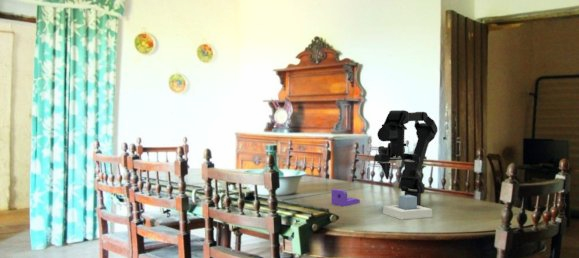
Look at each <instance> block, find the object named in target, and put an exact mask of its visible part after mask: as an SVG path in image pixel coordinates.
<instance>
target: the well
mask: <svg viewBox="0 0 579 258" xmlns="http://www.w3.org/2000/svg"><path fill="white" fill-rule="evenodd" d="M382 210H383V211H382V213H383V214H384V215H387V216H390V217H392V218H396V219H399V220H401V221H403V220H404V221H405V220H414V219H415V220H416V219H423V218H425V219H426V218H433V209H432V208H429V207H425V206H423V207H422V206H418V205H417V209H412V210H404V209H400V208H398V204H392V205H383V209H382Z"/></svg>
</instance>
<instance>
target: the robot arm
mask: <svg viewBox="0 0 579 258" xmlns="http://www.w3.org/2000/svg"><path fill="white" fill-rule="evenodd" d="M409 122H414V125H413V126H414V129H415V131H416V132H415V134H416V137H417V141H416V145H415V147H414V150H413V153H405V147H407V143H405V132H406V130H408V128H407V126H406V124H408V123H409ZM437 133H438V126H437V124H436V121H435V120H434V119H433V118H431V117H430V116H429V115H428V113H427V112H425V111H416V112H409V111H407V110H404V109H402V110H390V111H389V112H388V114H387V116H386V118H385V120H384V123H383V124H381V127H380V128H378V131H377V137H378V140H379V141H381V142H388V143H387V147H385V146H382V145H380V146H378V148H377V149H378V153H377V154H374V157H373V160H374V162H376V163H377V164H379V165H380V166H381V168H382V170H383V174H384V176H385V177H384V178H385V179H386V180H389V177H390V172H391V171H390V170H391V164H392V163H391V162H390V161H402V160H403V161H402V162H403V164H404V169H403V170H402V172H401V176H400V179H399V185H400V191H401V192H404V195H412V196H416V197H417V205H418V206H422V207H424V205H422V204H421V201H422V200H421V198H422V194H424V193H425V191H426V190H425V189H426V187H425V186H424V184H423V182H422V181H423V179H422V174H421V169H422V166H423V163H424V160H425V156H426V154H427V150H428V147H429V145H430V143H431V142H432V141H433V140H434V139H435V137H436V135H437Z"/></svg>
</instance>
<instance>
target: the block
mask: <svg viewBox="0 0 579 258" xmlns="http://www.w3.org/2000/svg"><path fill="white" fill-rule="evenodd" d="M397 199H398V202H397V205H398V208H400V209H404V210H412V209H417V197H416V196H412V195H405V194H401V195H398V198H397Z"/></svg>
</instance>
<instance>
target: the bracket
mask: <svg viewBox="0 0 579 258" xmlns="http://www.w3.org/2000/svg"><path fill="white" fill-rule="evenodd" d="M360 203H361V200H360V199H359V198H353V197H348V192H347V191H346V190H344V189H343V190H342V189H337V188H334V189H331V205H332V204H335V205H334V206H338V205H340V206H339V207H344V206H345V207H348V205H349V206H352V205H358V204H360Z"/></svg>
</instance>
